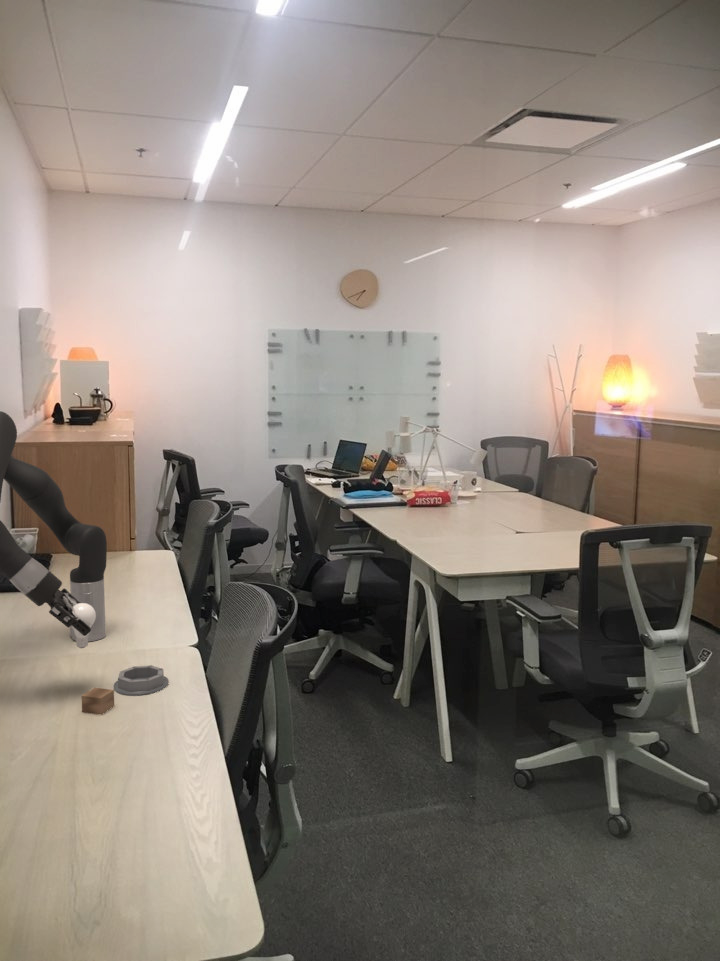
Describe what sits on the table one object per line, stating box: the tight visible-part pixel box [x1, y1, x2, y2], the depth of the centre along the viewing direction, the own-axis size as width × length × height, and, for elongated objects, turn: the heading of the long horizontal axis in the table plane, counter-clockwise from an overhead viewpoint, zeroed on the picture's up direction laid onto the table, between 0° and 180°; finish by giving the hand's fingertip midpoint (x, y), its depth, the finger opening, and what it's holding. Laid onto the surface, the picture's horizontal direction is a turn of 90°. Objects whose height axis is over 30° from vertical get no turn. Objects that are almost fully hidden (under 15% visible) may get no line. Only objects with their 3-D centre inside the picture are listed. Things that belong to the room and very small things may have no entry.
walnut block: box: [81, 687, 115, 716], centre depth 175 cm, size 5×5×4 cm
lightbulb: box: [68, 603, 96, 649], centre depth 184 cm, size 6×6×11 cm
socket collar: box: [113, 664, 170, 697], centre depth 189 cm, size 13×13×3 cm
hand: (89, 627), depth 184 cm, fingers closed on lightbulb, 6 cm apart
